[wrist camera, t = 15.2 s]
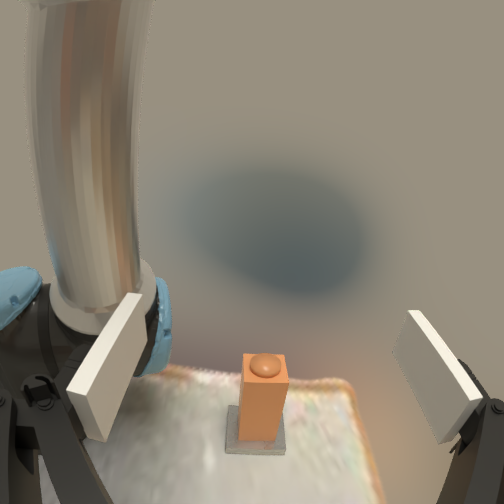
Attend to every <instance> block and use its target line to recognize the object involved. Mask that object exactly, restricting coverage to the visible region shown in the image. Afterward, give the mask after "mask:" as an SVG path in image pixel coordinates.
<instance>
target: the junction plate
mask: <svg viewBox="0 0 504 504" xmlns="http://www.w3.org/2000/svg"><path fill="white" fill-rule="evenodd" d="M238 408H239V406H232V405H229V409H228V423H227V437H226V453H233V454H252V455H284V454H285V451H286V444H285V433H284V422H283V412H282V415H281V419H280V423H279V427H278V431H277V435H276V439H275V441H241V440H238Z"/></svg>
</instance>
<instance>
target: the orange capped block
mask: <svg viewBox="0 0 504 504" xmlns="http://www.w3.org/2000/svg"><path fill="white" fill-rule="evenodd" d="M288 385H289V380H288V374H287V369H286V363H285V358H284V355H272V354H269V353H260V354H243V364H242V375H241V386H240V397H239V408H238V440H241V441H275V439H276V435H277V431H278V427H279V423H280V419H281V415H282V411H283V407H284V403H285V398H286V394H287V390H288Z"/></svg>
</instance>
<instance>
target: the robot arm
mask: <svg viewBox="0 0 504 504" xmlns="http://www.w3.org/2000/svg"><path fill="white" fill-rule="evenodd" d="M18 1H19V2H20V3H22V4H23V5H24V6H25V8H26V10H27V12H28V15H27V24H26V37H25V56H24V93H25V115H26V128H27V139H28V147H29V156H30V163H31V170H32V176H33V182H34V188H35V193H36V199H37V204H38V209H39V213H40V217H41V222H42V226H43V231H44V235H45V239H46V243H47V246H48V250H49V254H50V257H51V260H52V264H53V267H54V270H55V276H54V278H53V280H52V282H51V284H42V277H41V276H40V274H39V273H38V271H37V270H36V269H34V268H30V267H25V266H23V267H15V268H10V269H7V270H4V271H1V272H0V504H42V497H41V488H40V477H39V463H38V454H41V455H42V456H43V459H44V462H45V465H46V467H47V470H48V473H49V476H50V479H51V481H52V484H53V486H54V489H55V491H56V494H57V496H58V499H59V501H60V503H61V504H114V503H113V501H112V499H111V498H110V496H109V494H108V492H107V491H106V489H105V487H104V485H103V483H102V481H101V479H100V477H99V475H98V474H97V472H96V470H95V468H94V466H93V463H92V461H91V459H90V457H89V455H88V453H87V451H86V449H85V446H84V444H83V442H82V440H83V439H84V438H85V437H86V435H87V437H88V438H90V439H93V440H97V441H101V442H104V443H106V441H107V438H108V435H109V433H110V430H111V428H112V425H113V422H114V420H115V417H116V415H117V412H118V410H119V407H120V405H121V402H122V400H123V397H124V395H125V392H126V390H127V387H128V385H129V383H130V380H131V378H132V376H133V377H142V376H144V375H147V374H153V373H159V372H161V371H163V370H164V369H165V368H166V367H167V365H168V363H169V360H170V355H171V346H172V335H171V328H172V316H171V303H170V297H169V292H168V287H167V285H166V282H165V281H164V280H163V279H161V278H158V277H155V276H154V274H153V271H152V270H151V268H150V266H149V265H148V264H147V263H146V262H145V261H144V260H143V259H142V258H140V251H139V230H138V229H139V227H138V154H139V129H140V113H141V99H142V88H143V77H144V68H145V59H146V51H147V44H148V36H149V30H150V23H151V17H152V11H153V6H154V3H155V1H156V0H18ZM392 353H393V355H394V357H395V358H396V360H397V362H398V364H399V366H400V368H401V370H402V372H403V374H404V375H405V377H406V379H407V381H408V383H409V385H410V387H411V389H412V391H413V393H414V395H415V397H416V399H417V401H418V403H419V405H420V406H421V409H422V411H423V413H424V415H425V417H426V419H427V421H428V423H429V425H430V427H431V429H432V431H433V434H434V436H435V438H436V440H437V442H438V444H442V443H446V442H449V441H452V440H453V439H454V437H455V436H456V435H457V433H458V432H459V433H460V435H461V438H460V439H459V441H458V442H457V443H456V444H455V446H454V447H453V448H452V449H451V451H450V453H452V452H453V451H454V450H455V449H456V450H455V453H454V456H453V459H452V463H451V466H450V469H449V472H448V475H447V477H446V480H445V483H444V486H443V488H442V491H441V493H440V496H439V498H438V501H437V503H436V504H504V402H503V401H501V400H499V399H495V398H494V399H490V397H489V396H488V394H487V393H486V391H485V390H484V388H483V387H482V385H481V384H480V383H479V381H478V380H476V377H475V375H474V374H472V371H471V370H470V369H469V367H468V366H467V365H466V364H465V363H464V362H462V361H461V360H460V359H456V358H455V356H454V355H453V354H452V352H451V351H450V349H449V348H448V347H447V345H446V344H445V343H444V341H443V340H442V339H441V337H440V336H439V335H438V333H437V332H436V331H435V329H434V328H433V327H432V326H431V324H430V323H429V322H428V321H427V319H426V318H425V317H424V315H423V314H422V313H421V312H420V310H408V311H407V314H406V317H405V319H404V322H403V325H402V328H401V330H400V333H399V336H398V338H397V341H396V344H395V346H394V349H393V351H392Z"/></svg>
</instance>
